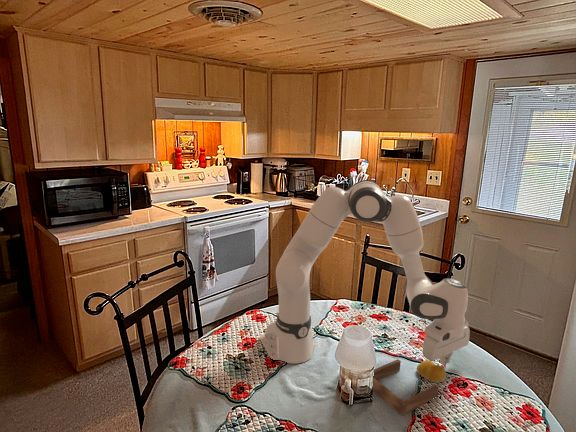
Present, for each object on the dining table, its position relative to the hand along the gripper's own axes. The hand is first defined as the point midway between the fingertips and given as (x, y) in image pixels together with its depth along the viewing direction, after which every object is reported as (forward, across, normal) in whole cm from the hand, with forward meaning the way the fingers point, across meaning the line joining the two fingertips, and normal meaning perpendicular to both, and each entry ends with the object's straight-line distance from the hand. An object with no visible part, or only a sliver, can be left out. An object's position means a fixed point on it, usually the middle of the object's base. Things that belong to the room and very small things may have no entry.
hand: (444, 362), depth 133 cm
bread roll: (+2, +7, 0) cm, 7 cm away
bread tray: (+2, +21, 0) cm, 21 cm away
